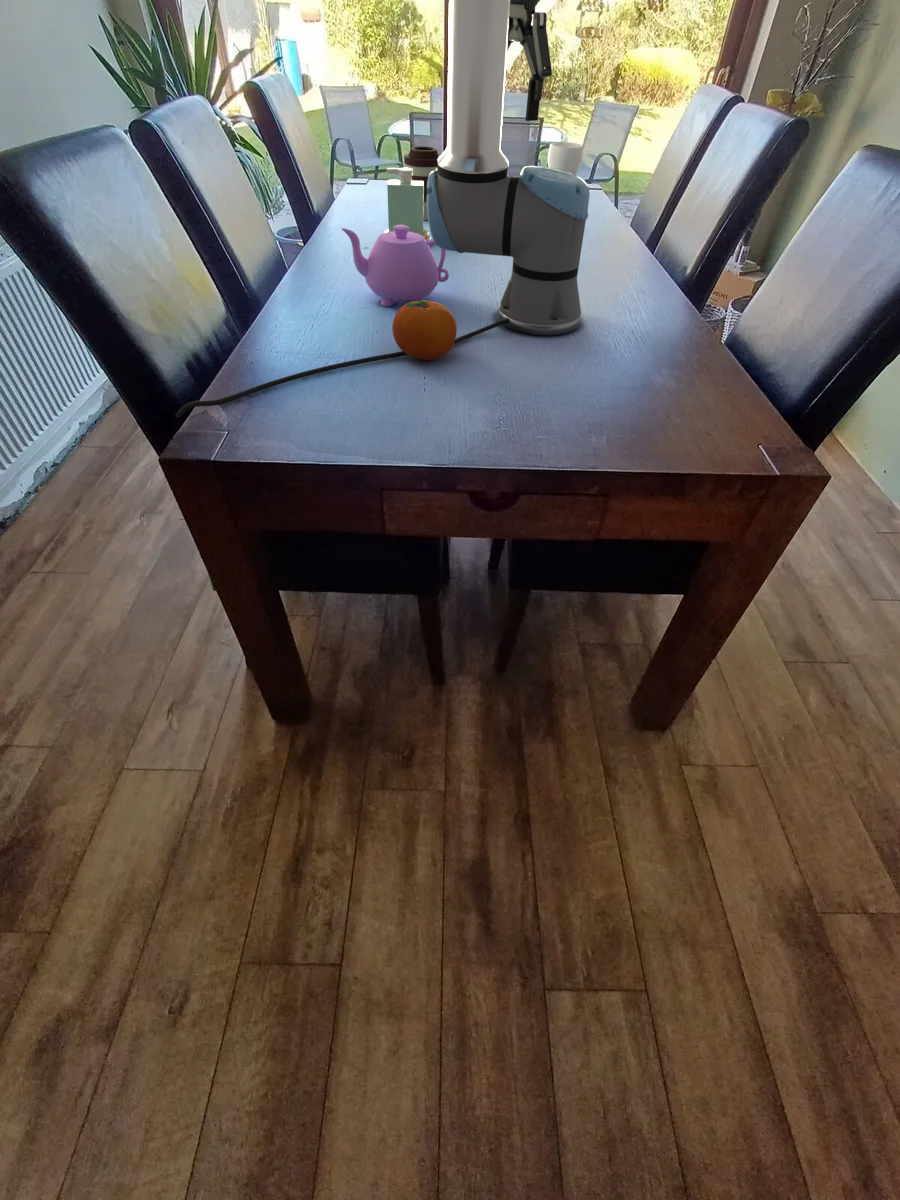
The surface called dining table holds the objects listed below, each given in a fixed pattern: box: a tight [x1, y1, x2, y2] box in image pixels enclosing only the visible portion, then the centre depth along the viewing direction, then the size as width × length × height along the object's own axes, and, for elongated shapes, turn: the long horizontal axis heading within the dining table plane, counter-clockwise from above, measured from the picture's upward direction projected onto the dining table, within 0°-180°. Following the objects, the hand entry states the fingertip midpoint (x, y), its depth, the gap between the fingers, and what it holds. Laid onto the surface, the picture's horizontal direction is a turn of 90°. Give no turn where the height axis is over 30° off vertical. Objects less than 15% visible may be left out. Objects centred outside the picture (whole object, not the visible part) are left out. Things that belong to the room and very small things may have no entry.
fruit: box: [391, 299, 458, 361], centre depth 102 cm, size 11×10×8 cm
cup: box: [547, 141, 584, 176], centre depth 167 cm, size 9×9×16 cm
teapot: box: [340, 225, 450, 307], centre depth 119 cm, size 20×14×12 cm
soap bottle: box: [383, 167, 429, 240], centre depth 144 cm, size 10×10×13 cm
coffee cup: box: [403, 145, 442, 221], centre depth 162 cm, size 10×10×15 cm
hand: (511, 115), depth 135 cm, fingers open, 13 cm apart
